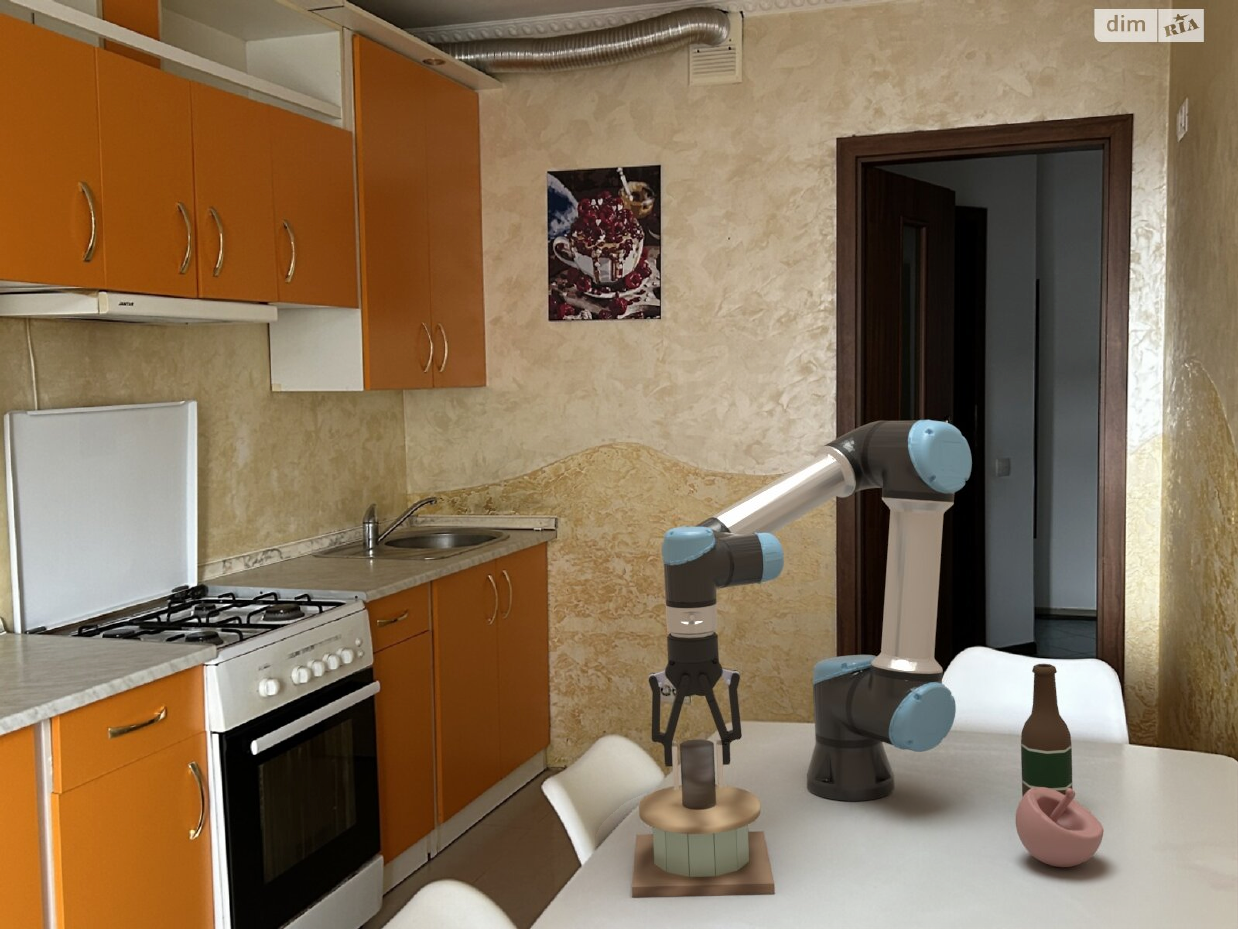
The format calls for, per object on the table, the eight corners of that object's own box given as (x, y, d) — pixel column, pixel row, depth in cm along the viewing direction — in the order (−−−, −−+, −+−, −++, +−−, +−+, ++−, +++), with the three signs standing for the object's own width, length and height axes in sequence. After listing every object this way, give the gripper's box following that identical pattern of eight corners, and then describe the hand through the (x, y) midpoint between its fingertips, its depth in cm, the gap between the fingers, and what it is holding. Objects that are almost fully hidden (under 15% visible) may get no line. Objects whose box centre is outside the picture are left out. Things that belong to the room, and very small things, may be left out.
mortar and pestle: (1095, 886, 167) (1093, 805, 166) (1007, 871, 173) (1005, 793, 173) (1111, 856, 177) (1109, 780, 177) (1027, 843, 184) (1025, 769, 183)
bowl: (745, 839, 186) (743, 794, 186) (751, 875, 172) (749, 827, 172) (655, 841, 187) (653, 797, 187) (653, 878, 173) (651, 830, 173)
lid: (756, 790, 188) (753, 725, 187) (764, 832, 170) (762, 761, 169) (640, 793, 189) (638, 729, 188) (637, 835, 171) (634, 765, 170)
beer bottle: (1048, 822, 192) (1045, 673, 190) (1012, 808, 199) (1008, 664, 197) (1083, 812, 195) (1080, 666, 194) (1046, 799, 202) (1043, 657, 201)
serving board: (763, 840, 189) (763, 831, 189) (774, 894, 169) (774, 883, 169) (636, 844, 190) (636, 834, 190) (632, 897, 170) (632, 887, 170)
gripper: (627, 640, 174) (634, 797, 176) (758, 635, 173) (764, 793, 175) (629, 629, 182) (635, 780, 183) (754, 625, 181) (760, 776, 182)
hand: (698, 786), depth 179 cm, fingers open, 6 cm apart
